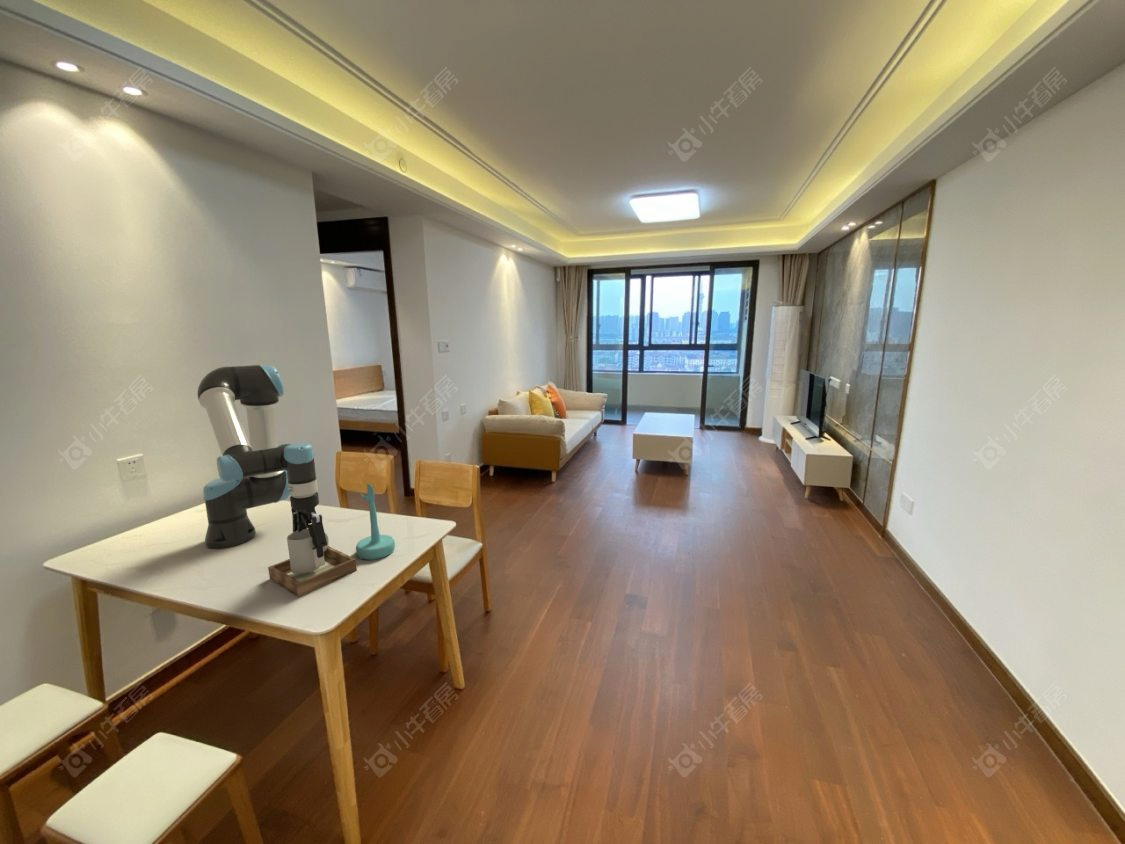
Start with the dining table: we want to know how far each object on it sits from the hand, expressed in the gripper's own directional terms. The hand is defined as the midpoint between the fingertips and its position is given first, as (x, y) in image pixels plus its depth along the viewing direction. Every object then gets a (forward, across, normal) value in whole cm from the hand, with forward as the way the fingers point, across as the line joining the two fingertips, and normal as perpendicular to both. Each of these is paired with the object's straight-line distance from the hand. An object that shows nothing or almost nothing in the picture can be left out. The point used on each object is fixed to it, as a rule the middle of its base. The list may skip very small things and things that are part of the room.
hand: (312, 561), depth 141 cm
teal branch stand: (+5, +3, +20) cm, 21 cm away
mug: (+1, 0, 0) cm, 1 cm away
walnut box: (+4, 0, 0) cm, 4 cm away
